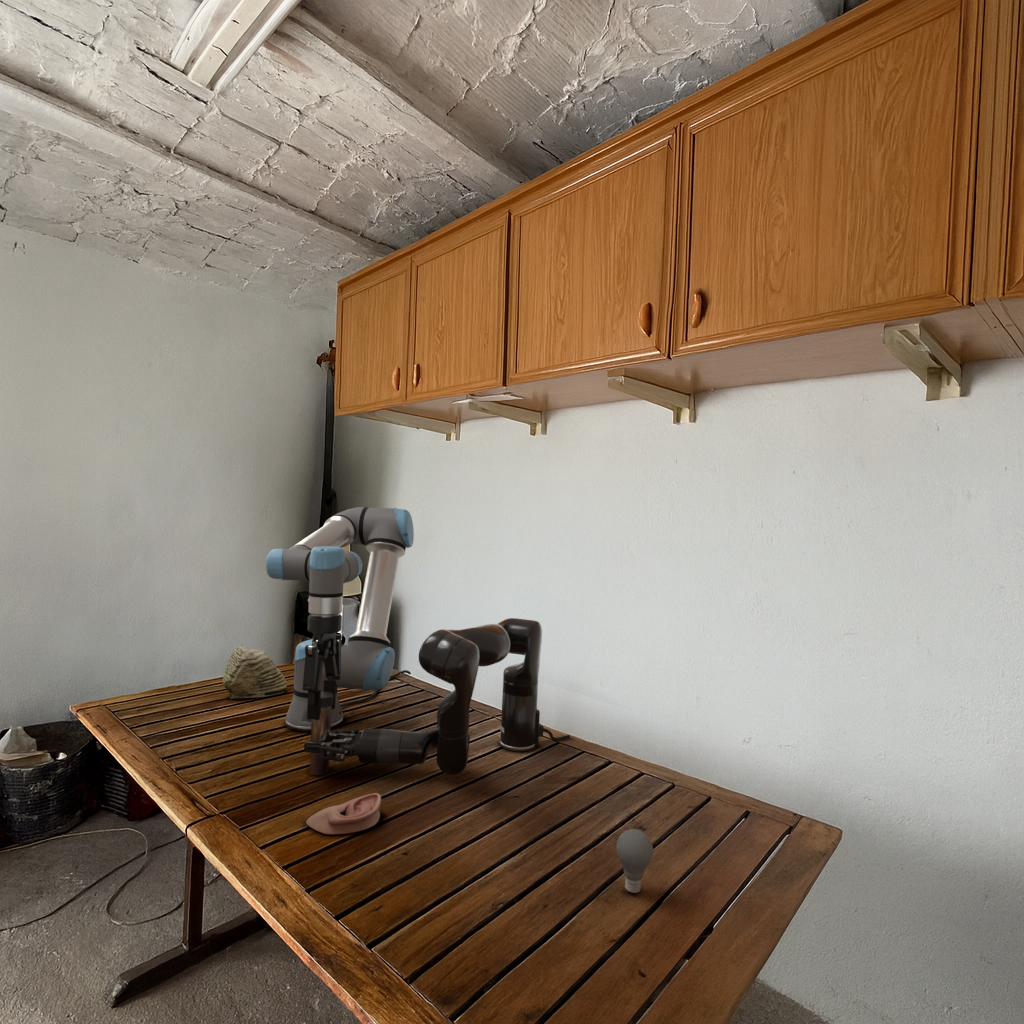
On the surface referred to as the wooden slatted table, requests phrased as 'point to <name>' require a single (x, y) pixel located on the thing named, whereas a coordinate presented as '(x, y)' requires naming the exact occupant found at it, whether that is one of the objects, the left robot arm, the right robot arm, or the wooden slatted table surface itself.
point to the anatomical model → (347, 816)
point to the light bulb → (634, 857)
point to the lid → (326, 699)
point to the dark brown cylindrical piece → (320, 734)
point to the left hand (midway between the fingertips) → (321, 713)
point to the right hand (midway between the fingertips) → (308, 742)
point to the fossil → (252, 674)
